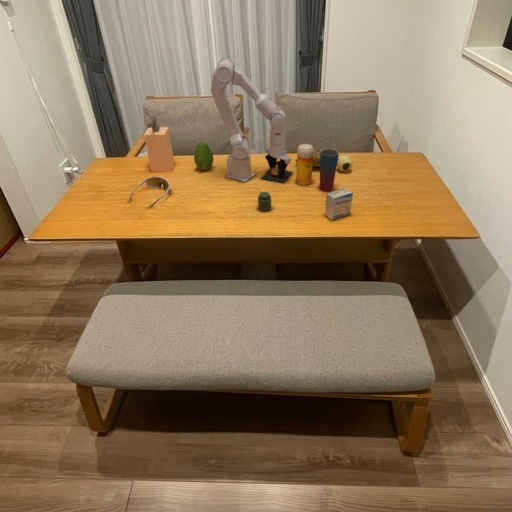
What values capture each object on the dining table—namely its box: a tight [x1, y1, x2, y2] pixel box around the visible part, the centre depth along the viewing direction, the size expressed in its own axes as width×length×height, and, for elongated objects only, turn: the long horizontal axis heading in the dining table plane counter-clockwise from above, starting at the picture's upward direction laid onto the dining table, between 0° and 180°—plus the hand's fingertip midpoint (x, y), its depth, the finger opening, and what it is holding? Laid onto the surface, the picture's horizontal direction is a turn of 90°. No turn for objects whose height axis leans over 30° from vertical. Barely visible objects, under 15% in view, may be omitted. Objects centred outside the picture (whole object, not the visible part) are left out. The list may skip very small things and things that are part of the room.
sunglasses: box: [128, 175, 172, 208], centre depth 149 cm, size 14×15×5 cm
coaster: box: [260, 168, 294, 184], centre depth 160 cm, size 10×10×1 cm
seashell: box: [295, 148, 322, 168], centre depth 163 cm, size 11×14×10 cm
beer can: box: [295, 143, 315, 186], centre depth 150 cm, size 6×6×15 cm
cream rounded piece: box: [336, 154, 354, 172], centre depth 160 cm, size 6×7×7 cm
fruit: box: [193, 142, 214, 171], centre depth 163 cm, size 8×8×12 cm
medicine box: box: [324, 188, 354, 221], centre depth 133 cm, size 8×4×9 cm, turn 118°
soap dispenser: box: [143, 115, 175, 173], centre depth 161 cm, size 13×9×22 cm
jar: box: [257, 191, 272, 213], centre depth 138 cm, size 5×5×6 cm
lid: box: [271, 166, 278, 175], centre depth 159 cm, size 5×5×1 cm
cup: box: [319, 147, 340, 193], centre depth 146 cm, size 7×7×15 cm
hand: (277, 174), depth 159 cm, fingers closed on lid, 5 cm apart
